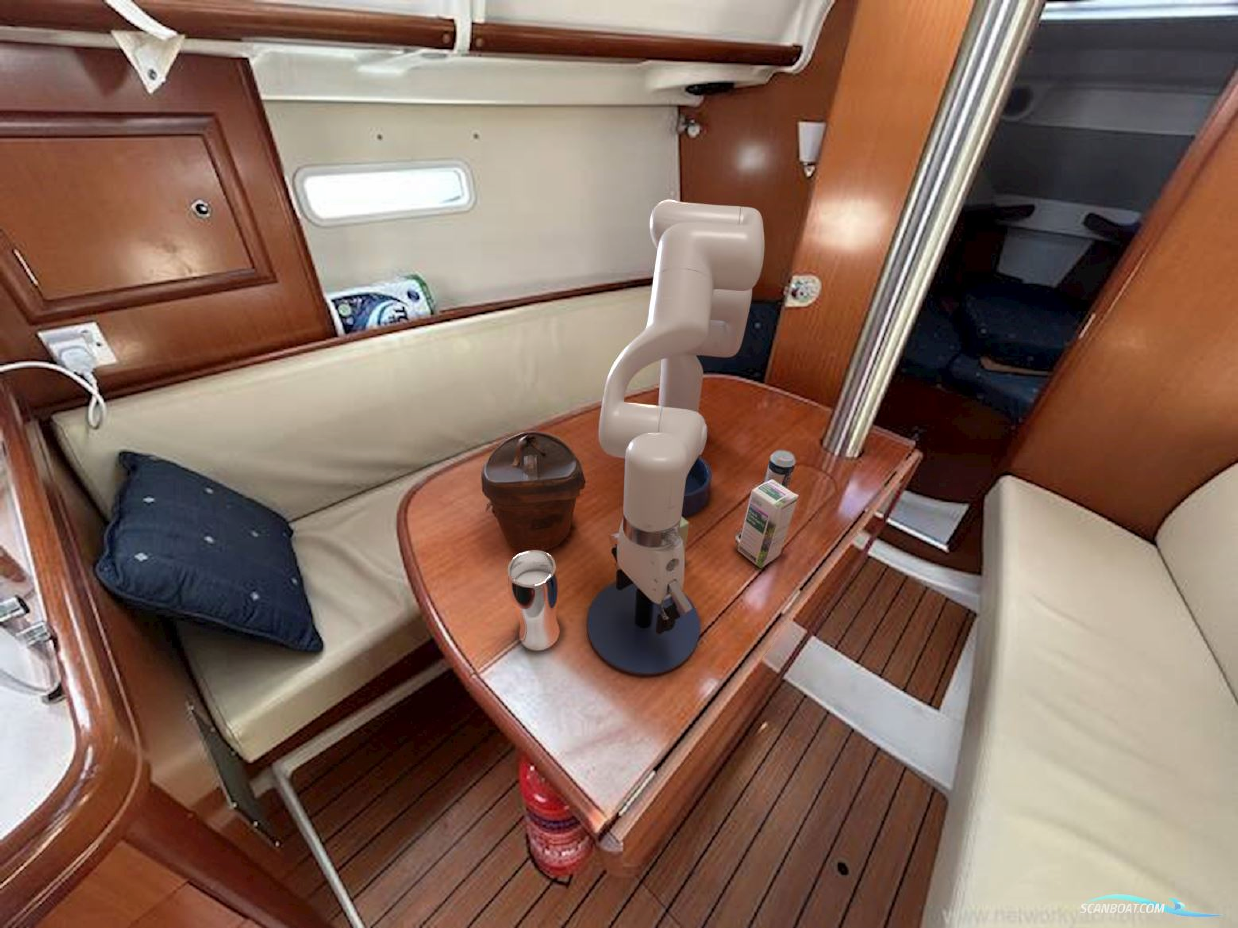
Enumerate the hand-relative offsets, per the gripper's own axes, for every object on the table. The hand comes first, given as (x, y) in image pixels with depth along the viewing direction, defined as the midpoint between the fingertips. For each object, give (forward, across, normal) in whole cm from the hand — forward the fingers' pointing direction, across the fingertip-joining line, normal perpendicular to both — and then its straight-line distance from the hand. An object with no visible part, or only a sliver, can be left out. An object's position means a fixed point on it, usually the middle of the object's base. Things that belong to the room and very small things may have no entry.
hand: (644, 606), depth 76 cm
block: (+5, +8, -12) cm, 15 cm away
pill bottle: (+5, +8, -40) cm, 41 cm away
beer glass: (+5, +8, +14) cm, 17 cm away
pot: (+5, +23, -25) cm, 35 cm away
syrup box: (+5, 0, -27) cm, 28 cm away
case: (+5, +29, +3) cm, 30 cm away
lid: (+4, 0, 0) cm, 4 cm away
